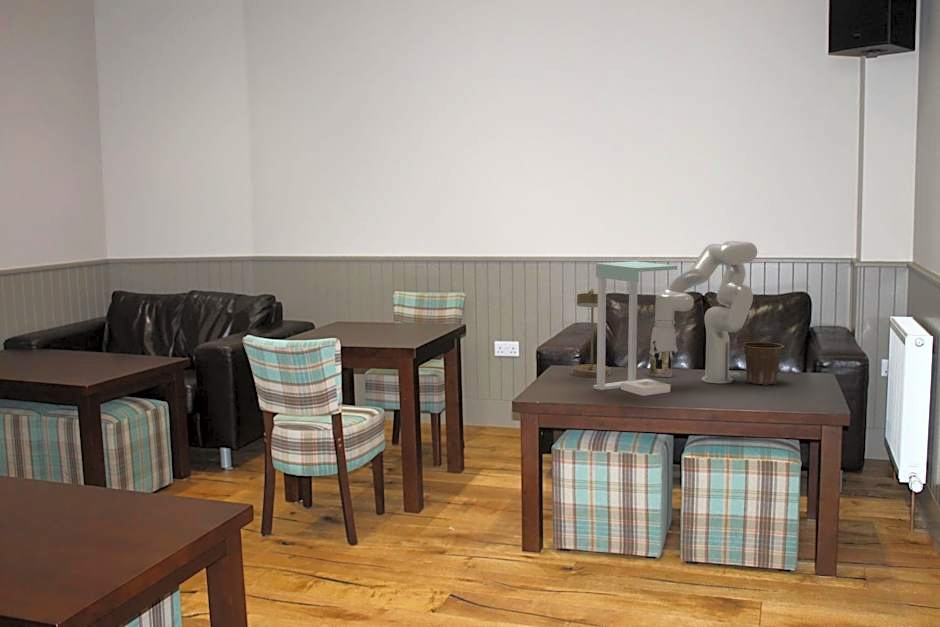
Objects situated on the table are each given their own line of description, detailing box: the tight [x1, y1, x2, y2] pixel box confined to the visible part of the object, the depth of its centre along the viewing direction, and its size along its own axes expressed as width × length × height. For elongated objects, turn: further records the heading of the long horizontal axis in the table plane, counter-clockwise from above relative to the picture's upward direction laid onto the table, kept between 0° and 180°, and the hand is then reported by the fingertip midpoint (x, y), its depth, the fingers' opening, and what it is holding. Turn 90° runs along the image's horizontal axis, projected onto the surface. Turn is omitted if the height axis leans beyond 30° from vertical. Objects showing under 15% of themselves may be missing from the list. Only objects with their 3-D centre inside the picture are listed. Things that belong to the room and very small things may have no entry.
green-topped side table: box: [592, 260, 678, 391], centre depth 389 cm, size 20×27×52 cm
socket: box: [620, 378, 671, 397], centre depth 394 cm, size 14×14×3 cm
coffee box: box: [649, 353, 673, 378], centre depth 424 cm, size 9×6×16 cm
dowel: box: [658, 351, 669, 374], centre depth 397 cm, size 4×4×10 cm
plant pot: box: [742, 341, 784, 386], centre depth 407 cm, size 16×16×16 cm
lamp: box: [571, 288, 611, 378], centre depth 423 cm, size 17×27×38 cm, turn 169°
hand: (663, 367), depth 397 cm, fingers closed on dowel, 4 cm apart
